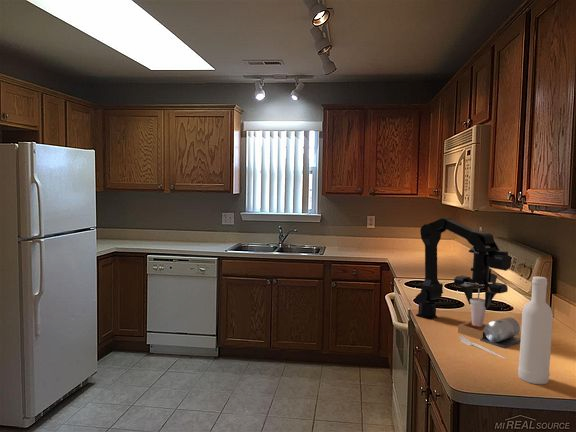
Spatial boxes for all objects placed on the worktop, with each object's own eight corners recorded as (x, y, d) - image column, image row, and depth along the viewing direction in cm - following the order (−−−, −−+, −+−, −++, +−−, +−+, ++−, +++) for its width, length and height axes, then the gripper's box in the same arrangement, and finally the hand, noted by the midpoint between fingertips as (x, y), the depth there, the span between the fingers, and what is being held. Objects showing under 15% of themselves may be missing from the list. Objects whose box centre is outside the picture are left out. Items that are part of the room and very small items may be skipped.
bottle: (544, 375, 135) (551, 276, 134) (552, 386, 128) (559, 281, 126) (515, 371, 138) (521, 273, 136) (521, 382, 130) (528, 278, 128)
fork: (503, 362, 147) (503, 356, 147) (456, 340, 165) (457, 335, 165) (510, 360, 149) (510, 355, 148) (463, 339, 167) (464, 334, 167)
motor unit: (455, 333, 173) (456, 313, 173) (474, 327, 181) (475, 308, 181) (504, 348, 158) (506, 326, 158) (522, 341, 166) (524, 320, 166)
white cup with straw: (483, 322, 176) (485, 287, 175) (488, 328, 170) (491, 291, 169) (466, 321, 177) (468, 286, 176) (471, 327, 170) (473, 290, 169)
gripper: (516, 268, 169) (513, 309, 170) (470, 260, 184) (467, 298, 185) (501, 270, 162) (498, 313, 163) (454, 262, 177) (451, 301, 178)
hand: (478, 306), depth 173 cm, fingers closed on white cup with straw, 6 cm apart
